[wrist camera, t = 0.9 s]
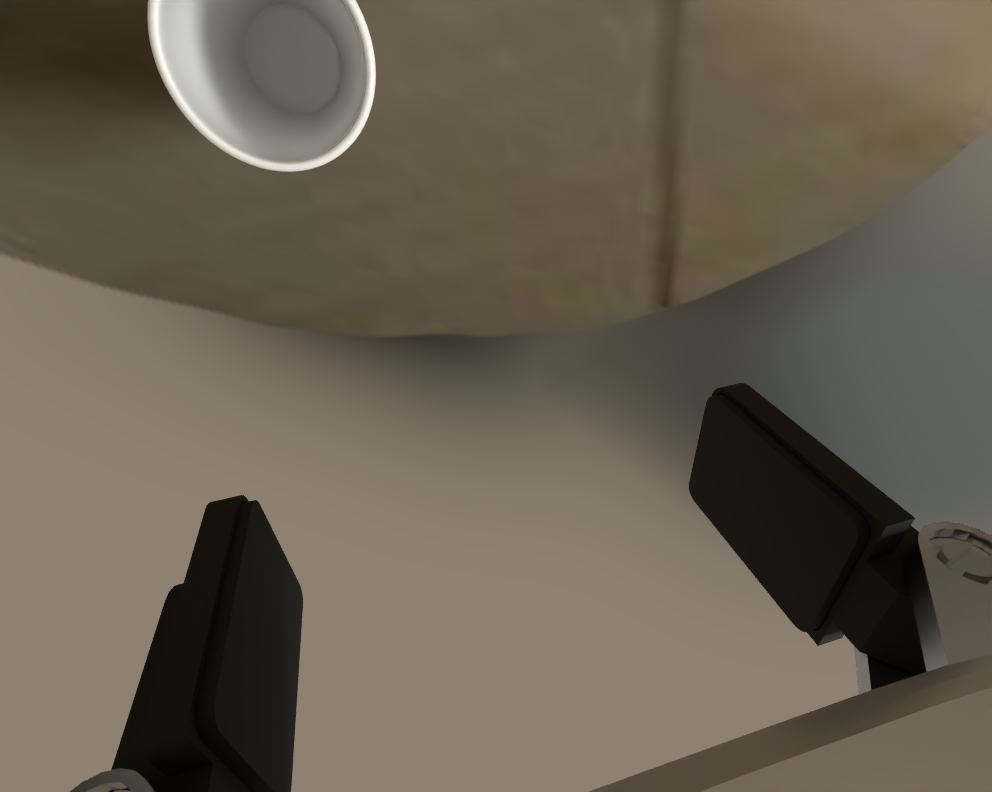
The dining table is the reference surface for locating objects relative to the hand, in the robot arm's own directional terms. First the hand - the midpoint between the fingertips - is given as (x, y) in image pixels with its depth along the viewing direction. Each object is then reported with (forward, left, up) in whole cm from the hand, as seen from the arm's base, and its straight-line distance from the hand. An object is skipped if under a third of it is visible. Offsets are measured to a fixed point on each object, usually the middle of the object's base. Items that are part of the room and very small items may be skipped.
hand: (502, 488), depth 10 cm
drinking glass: (-5, -7, -28) cm, 29 cm away
